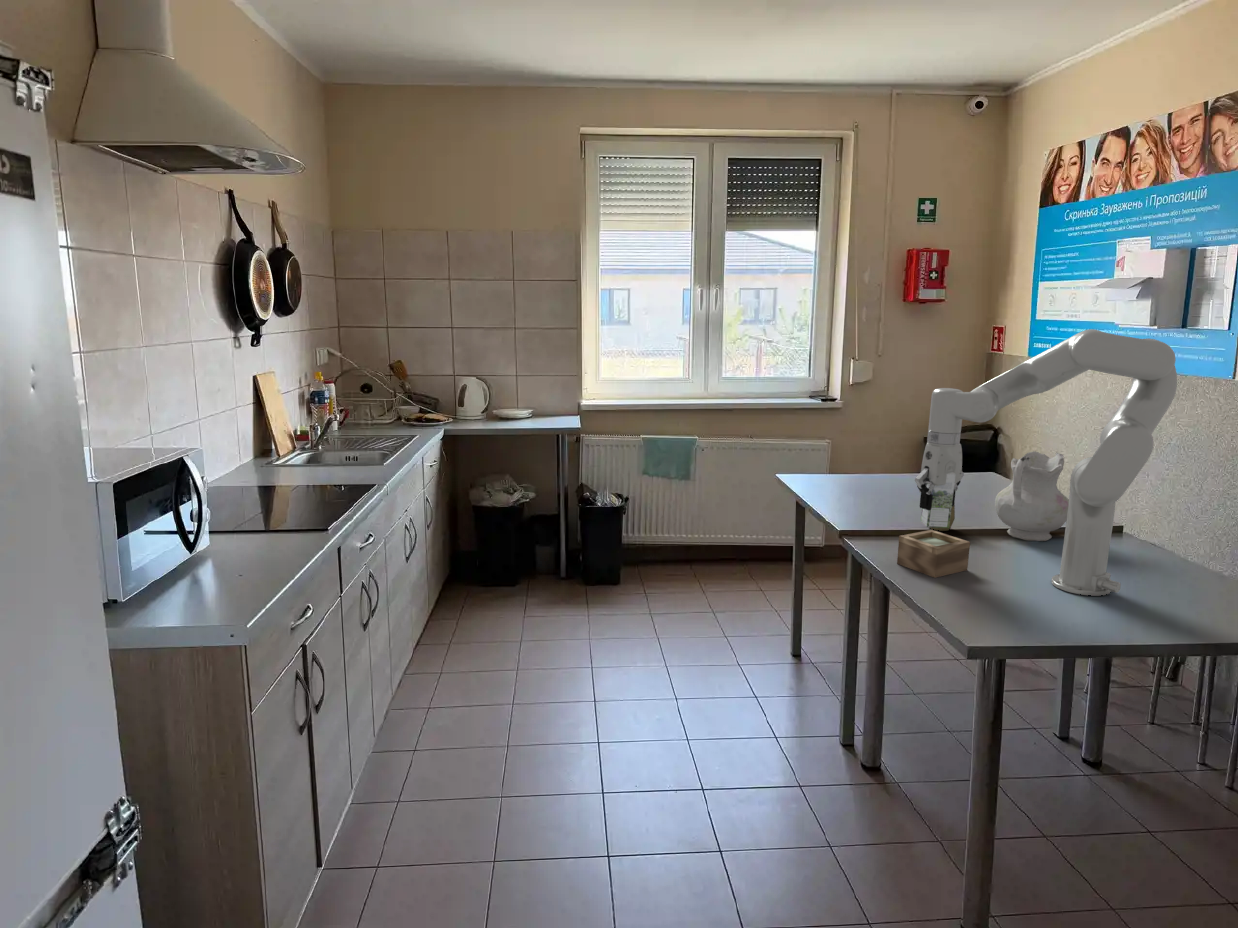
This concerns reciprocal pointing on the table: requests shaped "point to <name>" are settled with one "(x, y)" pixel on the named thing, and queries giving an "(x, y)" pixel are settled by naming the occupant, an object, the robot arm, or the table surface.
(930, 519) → the syrup box
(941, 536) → the wooden box
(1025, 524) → the ceramic pitcher
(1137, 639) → the table surface
